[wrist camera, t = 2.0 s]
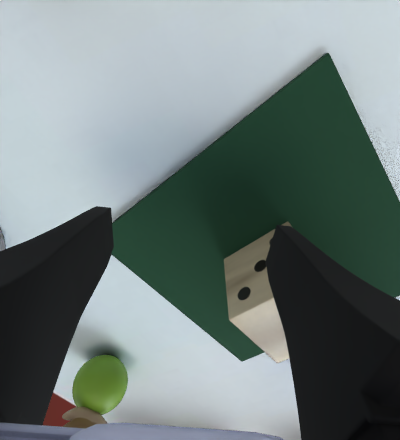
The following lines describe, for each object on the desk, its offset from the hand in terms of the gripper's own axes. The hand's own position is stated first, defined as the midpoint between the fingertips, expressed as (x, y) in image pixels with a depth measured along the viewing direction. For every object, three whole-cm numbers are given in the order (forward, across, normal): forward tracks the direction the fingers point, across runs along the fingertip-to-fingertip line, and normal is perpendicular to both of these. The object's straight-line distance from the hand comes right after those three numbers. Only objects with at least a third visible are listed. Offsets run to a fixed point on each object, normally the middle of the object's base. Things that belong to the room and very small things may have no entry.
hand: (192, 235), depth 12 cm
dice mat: (+8, -7, +7) cm, 12 cm away
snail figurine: (+8, +7, +24) cm, 26 cm away
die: (+7, -7, +7) cm, 12 cm away
